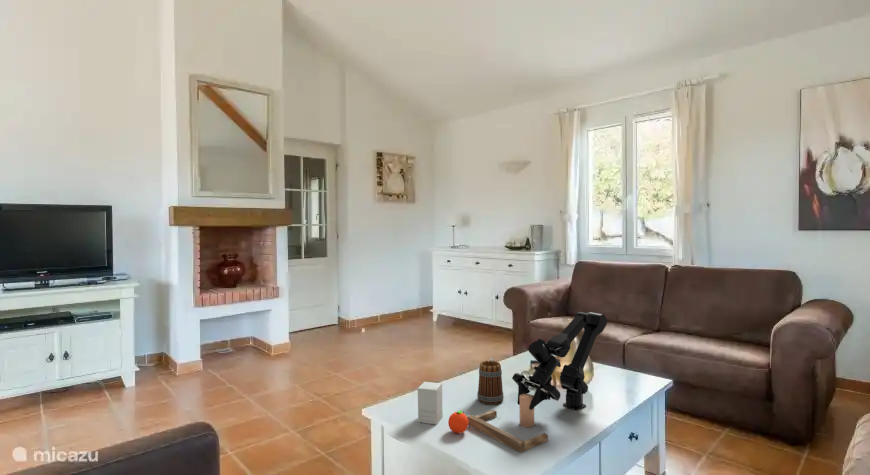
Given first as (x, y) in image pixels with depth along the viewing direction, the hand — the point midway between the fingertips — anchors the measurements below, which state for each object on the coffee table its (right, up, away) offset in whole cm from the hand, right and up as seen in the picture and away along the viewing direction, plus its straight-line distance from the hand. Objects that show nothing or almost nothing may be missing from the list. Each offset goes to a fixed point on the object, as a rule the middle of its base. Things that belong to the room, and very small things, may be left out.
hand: (524, 406), depth 165 cm
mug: (-9, -6, +26) cm, 28 cm away
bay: (-7, -7, -5) cm, 11 cm away
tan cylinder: (+1, -7, +1) cm, 7 cm away
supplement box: (-33, -7, +5) cm, 34 cm away
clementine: (-23, -7, -5) cm, 25 cm away
